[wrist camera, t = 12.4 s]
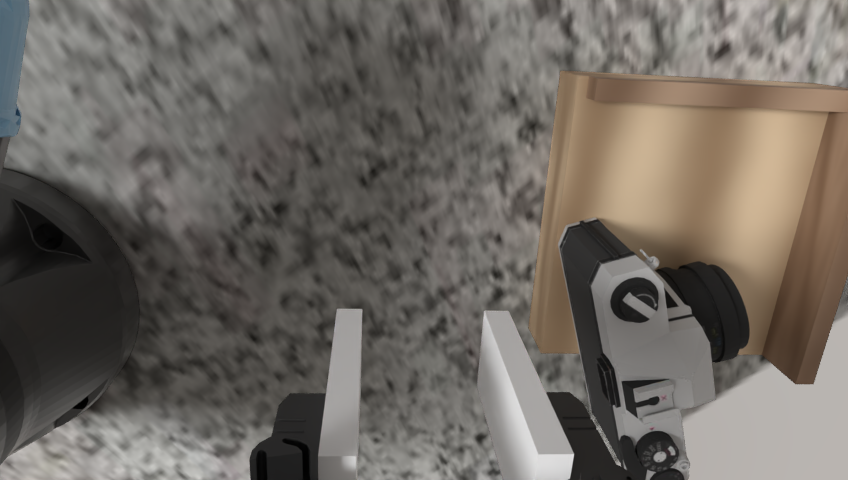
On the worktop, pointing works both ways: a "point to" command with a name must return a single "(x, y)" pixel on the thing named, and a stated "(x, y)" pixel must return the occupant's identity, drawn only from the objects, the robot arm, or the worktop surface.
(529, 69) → the worktop surface
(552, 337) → the wooden corner tray
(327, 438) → the robot arm
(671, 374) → the camera
